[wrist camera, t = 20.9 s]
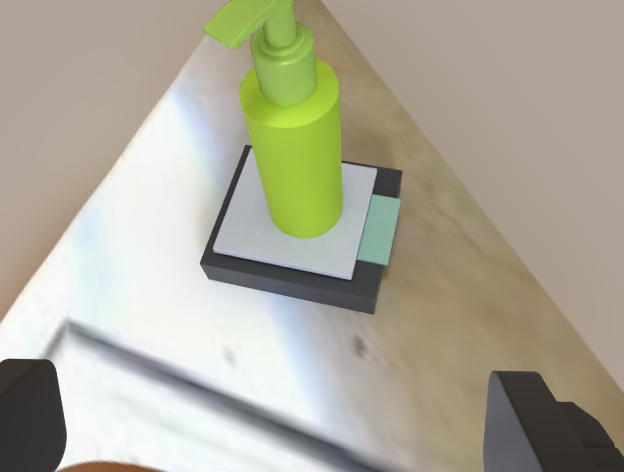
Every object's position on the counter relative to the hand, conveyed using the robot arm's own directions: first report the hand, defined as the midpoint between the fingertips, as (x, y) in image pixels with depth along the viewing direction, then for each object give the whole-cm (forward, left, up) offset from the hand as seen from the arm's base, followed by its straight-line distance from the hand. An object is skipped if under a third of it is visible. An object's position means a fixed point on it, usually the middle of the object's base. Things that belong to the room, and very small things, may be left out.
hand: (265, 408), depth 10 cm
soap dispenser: (+7, -19, -27) cm, 34 cm away
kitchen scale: (+7, -20, -31) cm, 37 cm away
